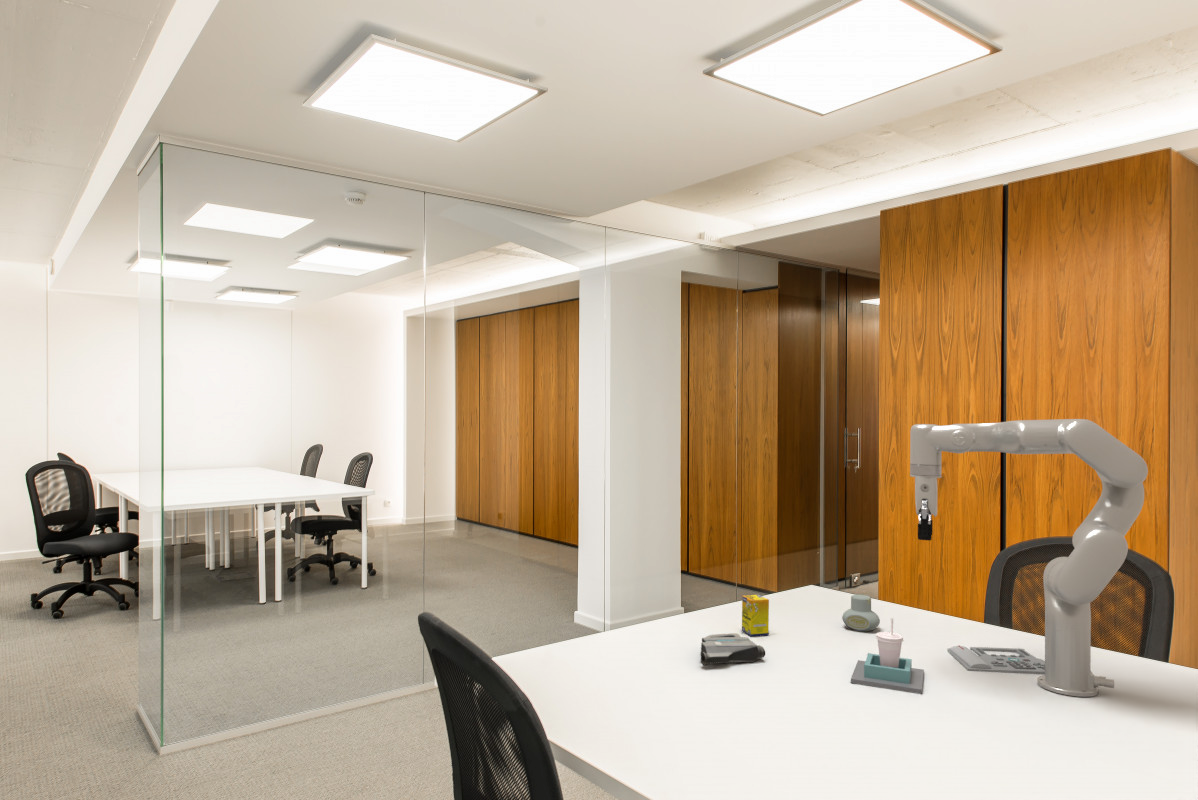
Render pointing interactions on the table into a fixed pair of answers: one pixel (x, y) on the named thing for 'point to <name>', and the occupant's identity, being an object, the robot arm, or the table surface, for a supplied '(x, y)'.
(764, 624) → the supplement box
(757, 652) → the camcorder
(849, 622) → the air freshener
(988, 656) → the office telephone
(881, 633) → the smoothie
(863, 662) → the mount
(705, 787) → the table surface
